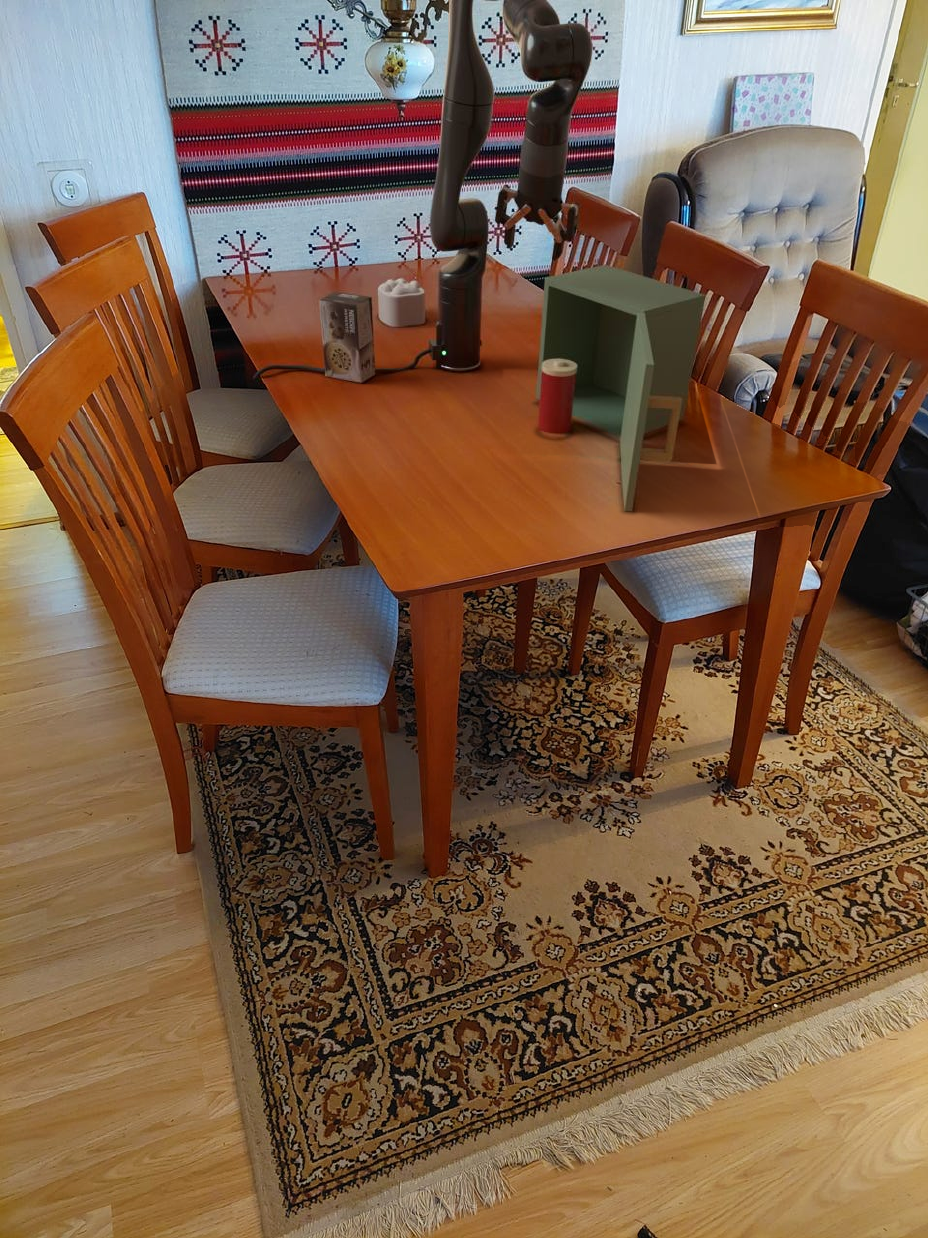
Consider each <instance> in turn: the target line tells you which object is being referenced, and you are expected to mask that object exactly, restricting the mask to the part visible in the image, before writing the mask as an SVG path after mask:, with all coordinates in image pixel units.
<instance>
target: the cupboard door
mask: <svg viewBox="0 0 928 1238" xmlns="http://www.w3.org/2000/svg"><path fill="white" fill-rule="evenodd" d="M653 370H654V361H653V356H652V350H651V345H650V339H649V334H648V329H647V323H646V318H645V313H637V320H636V327H635V335H634V342H633V350H632V357H631V364H630V372H629V379H628V386H627V394H626V401H625V408H624V416H623V423H622V431H621V437H619V438H620V439H619V446H620V447H619V448H620V458H619V459H620V460H619V461H620V471H621V483H622V484H621V486H622V497H623V499H622V500H623V509H624V510H623V511H624V512H633V508H634V499H635V494H636V488H637V482H638V481H637V480H638V475H639V467H640V461H641V460H642V461H657V462H672V460H673V455H674V450H675V446H676V445H675V444H676V438H677V432H678V426H679V422H680V421H679V416H680V410H681V405H682V398H680V397H668V396H652V395H650V389H651V383H652V376H653ZM648 407H650V408H666V409H671V413H670V419H669V425H667V431H666V437H665V444H664V448H651V447H650V448H649V447H643V441H644V435H645V434H644V429H645V422H646V416H647V409H648Z"/></svg>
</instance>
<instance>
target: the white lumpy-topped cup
mask: <svg viewBox="0 0 928 1238" xmlns="http://www.w3.org/2000/svg"><path fill="white" fill-rule="evenodd" d="M377 302H378V319H379V320H380V321H381V322H382V323H383V324H385V325H387V326H389V327H392V328H403V327H409V326H420V325H423V324H425V323H426V291H425V289H423V287H421V284H420V283H419V282H418V281H417V280H411V281H410V282H408V281H406V279H405V278H403V277H399V278H397V279H395V280H394V279H392V278H390V279H387V280H386V281H385V282H383V283H381V284H379V286H378V288H377Z"/></svg>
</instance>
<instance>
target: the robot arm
mask: <svg viewBox="0 0 928 1238" xmlns="http://www.w3.org/2000/svg"><path fill="white" fill-rule="evenodd" d="M485 1H486V2H487V1H489V2H499V1H500V0H485ZM448 4H449V6H448V11H449V12H448V38H447V39H448V40H447V55H446V66H445V76H444V85H443V95H442V105H441V107H442V108H441V122H440V124H441V125H440V139H439V152H438V160H437V169H436V177H435V183H434V188H433V194H432V200H431V206H430V215H429V233H430V238H431V242H432V244H433V247H434V248H435V249H436V250H438V251H439V252H443V253H446V252H447V253H448V252H455V251H456V252H457V253H456V254H455V255H454V257H453V258H452V259H450V260H449V261H448V262H447V263H445V264H444V265H442V266H441V267H440V268H439V270H438V272H437V273H438V274H437V322H436V326H435V334H436V335H435V338H434V339H433V338H432V339H431V338H430V339H428V348H427V349H425V350H423V351H421V352H419V353H418V354H417V355H416V356H415V358H414V360H413V362H412V363H410V364H409V365H406V366H405V367H400V368H375V374H394V373H398V372H402V371H408V370H412V369H413V368H415V367H417V365H418V363H419V361H420V360H421V358H422V357H424V356H426V355H429V357H430V358H431V360H432V361H435V365H436V366H435V367H436V369H442V370H445V371H449V372H458V373H459V372H460V373H461V372H470V371H474V370H476V369H478V368H479V367H480V366H481V348H482V347H483V342H482V339H481V336H482V308H483V307H482V305H483V278H484V274H485V272H486V268H487V267H486V266H487V255H488V243H489V226H490V225H489V215H488V211H487V207H486V206H485V204H484V203H483V202H482V200H480V199H478V198H475V197H472V198H470V197H469V198H460V197H461V191H462V188H463V185H464V182H465V181H464V180H465V178H466V176H467V173H468V171H469V170H470V168H471V166H472V165H473V163H474V161H475V160H476V158H477V156H478V155H479V153H480V151H481V150H482V148H483V146H484V144H485V143H486V141H487V138H488V137H489V134H490V131H491V127H492V120H493V119H492V118H493V109H494V101H495V87H494V82H493V80H492V76H491V73H490V71H489V69H488V66H487V64H486V61H485V59H484V57H483V55H482V52H481V49H480V46H479V44H478V40H477V37H476V33H475V29H474V17H473V16H474V15H473V10H474V9H473V8H474V0H448ZM501 15H502V20H503V24H504V27H505V29H506V31H507V33H508V35H510V37H511V38H512V39H513V41H514V42H515V43H516V45H517V47H518V51H519V55H520V63H521V68H522V72H523V74H524V76H525V77H526V78H528V79H529V80H531V81H533V82H535V83H548V82H552V83H551V84H550V85H548V86H546V87H544V88H541V89H540V90H537V91H535V92H534V93H532V94H531V96H530V97H529V99H528V101H527V107H526V113H525V114H526V116H525V124H524V125H525V126H524V134H523V139H522V144H521V151H520V154H519V170H518V180H517V190H515V189H512V188H511V186H510V185H509V184H507V183H506V184H503V186H502V187H501V189H500V190H499V192H498V194H497V195H498V196H497V200H496V208H495V216H494V222H495V223H496V224H498V225H502V226H503V228H504V235H503V236H504V237H503V244H504V245H506V249H509V250H511V249H512V248H513V246H514V244H515V237H516V228H517V227H516V224H517V223H518V222H520V221H521V220H522V219H524V220H525V222H526V223H527V222H528V223H535V224H536V225H539V226H544V225H545V227H546V229H547V231H548V233H550V234H551V235H552V236H553V239H554V241H553V247H552V255H551V261H554V262H556V261H557V259H560V257H561V256H562V254H563V252H564V246H565V245H564V244H565V242H568V243H571V242H573V240H574V238H575V236H576V234H577V232H578V231H577V230H578V223H579V222H578V221H579V211H580V204H579V202H578V201H573V202H572V203H566V202H564V201H563V197H562V196H563V195H562V194H563V190H564V189H563V188H564V182H565V174H566V168H567V161H568V153H569V134H570V127H571V120H572V113H573V110H574V107H575V104H576V103H577V100H578V97H579V94H580V92H581V90H582V87H583V84H584V82H585V80H586V78H587V75H588V72H589V70H590V66H591V63H592V58H593V40H592V37H591V34H590V32H589V30H588V28H587V27H586V26H585V25H584V24H582V23H579V22H567V23H561V22H560V18H559V15H558V13H557V11H556V10H555V9H554V7H553V6H552V5H551V3H550V2H549V1H548V0H503V2H502V10H501ZM512 199H513V200H514V203H515V206H516V207H517V209H516V210H515V211H514V212H512V213H511V214H510V215H509V214H507V211H508V210H507V209H508V204H510V202H511V200H512ZM561 212H563V214H564V218H565V219H567V221H566V229H565V227H564V225H563V223H562V218H561V216H560V213H561ZM272 370H283V371H284V370H286V371H288V370H289V371H291V370H300V371H310V372H314V373H320V374H325V368H320V367H315V366H310V365H300V364H289V365H288V364H271V365H267V366H264V367H262V368H261V369H259V370H258V371H257V372H255V374H254V376H253V377H252V379H258V378H260V376H262V375H263V374H264V373H265V372H268V371H272Z"/></svg>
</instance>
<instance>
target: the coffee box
mask: <svg viewBox="0 0 928 1238" xmlns="http://www.w3.org/2000/svg"><path fill="white" fill-rule="evenodd" d="M318 304H319V305H318V306H319V317H320V327H321V340H322V349H323V363H324V369H325V373H324V376H325V377H326V378H332V379H338V380H343V381H348V382H354V383H360V384H362V383H364V382H365V381H367V380H368V379H370V378H372V377H373V376H375V375H376V373H375V369H376V362H375V361H376V360H375V359H376V357H375V339H374V319H373V318H374V317H373V316H374V315H373V297H372V296H367V295H360V294H355V293H354V294H353V293H347V292H340V291H333V292H330V293H329V294H327V295H325V296H323V297H322V298H319V300H318Z"/></svg>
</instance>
